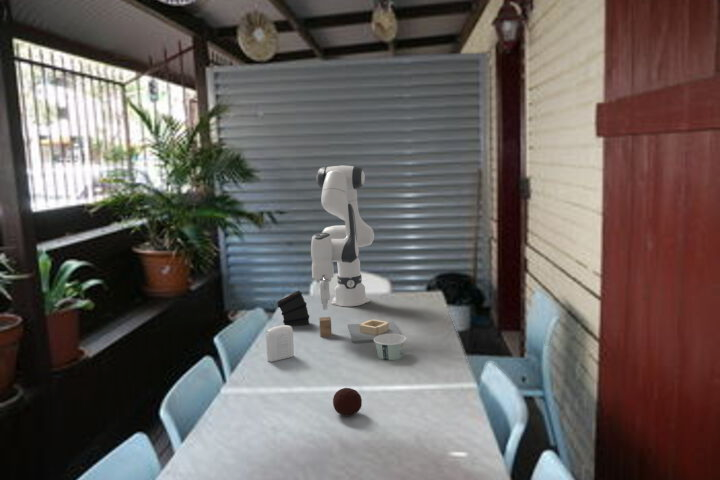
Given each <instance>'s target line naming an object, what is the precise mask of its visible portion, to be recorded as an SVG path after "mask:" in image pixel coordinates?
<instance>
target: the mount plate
mask: <svg viewBox="0 0 720 480" xmlns="http://www.w3.org/2000/svg"><path fill="white" fill-rule="evenodd" d="M347 329H348V332H349V336H350V337H351V338H350V339H351V341H352V343H353V344H359V343H360V344H361V343H375V342H374V338H375V337H376V336H379V335H383V334H399V335H402V333H401V331H400V329H399V328H398V326H397V324H396V323H395V322H394V321H385V320H379V319H374V318H373V319H369V320H366V321H364V322H361V323H353V324H352V323H350V324H347Z"/></svg>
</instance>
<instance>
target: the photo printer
mask: <svg viewBox="0 0 720 480" xmlns="http://www.w3.org/2000/svg"><path fill="white" fill-rule="evenodd" d="M265 332H266V333H265V338H266V339H265V341H266V357H267V361H268V362H276V361H280V360H281V361H282V360H285V359H289V358H293V357H294V356H295V353H294V352H295V350H294V348H295V347H294V330H293V326H288V325H284V324H280V325H278V326H273V327H271V328H270V329H267V331H265Z"/></svg>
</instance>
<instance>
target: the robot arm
mask: <svg viewBox="0 0 720 480" xmlns="http://www.w3.org/2000/svg"><path fill="white" fill-rule="evenodd" d="M365 180H366V175H365V172H364V169H363V168H362V167H361V166H358V165H354V166H353V165H333V166H327V165H326V166H322V167H320V168H319V169H318V170H317V174H316V182H317V185H318V187H319V188H321V200H320V203H321V206H322V208H323V209H324V210H325V211H326V212H327V213H329V215H330V214H331V215H332V216H335V217H337V218H338V219H340V220H343V221H344V224H345V225H344V224H343V225H331V226H327V227H324V229H323V230H322V232H317V233H315V234H313V235H312V237H311V243H310V257H311V260H312V262H311V278H312V279H313V280H315V283H317V289H318V295H319V299H320V301H321V304H322V310H324V311H325V310H328V302H329V301H330V300H331V299H330V298H331V296H330V295H331V294H330V282H331V281H332V279H333V278H334V277H335V274H334V273H335V271H334V263H336V264H337V278H336V279H337V281H336V282H337V285H336V286H335V287H334V289H333V294H334V296H333V298H332V300H331V305H335V306H341V307H356V306H361V305H364V304H366V303H370V299H369V298H368V297H367V296H366V285H365V284H363V283H362V281H363V280H362V279H363V278H362V274H361V261H360V259H359V258H360V257H359V253H360V250H359V248H364V247H368V246H371V245H372V243H373V242H374V239H375V233H374V229H373V228H372V227H371V226H370V225H368V223H366V222H365V221H364V220H363V219H362V217H361V215H360V211H359V205H358V189H361V188H362V187H363V186H364V183H365Z"/></svg>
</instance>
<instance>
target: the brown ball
mask: <svg viewBox="0 0 720 480" xmlns="http://www.w3.org/2000/svg"><path fill="white" fill-rule="evenodd" d="M362 399H363V398H362V396H361V394H360V393H359V392H358V391H357V390H356V389H354V388H351V387H344V388H340V389H338V390H337V391H336V392H335V394H334V395H333V397H332V405H333V408H334V411H335V412H336V413H338V414H339V415H341V416H346V417H348V416H353V415H356V414H357V413H359V411H360V410H361V409H362V405H363V404H362V401H363V400H362Z"/></svg>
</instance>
